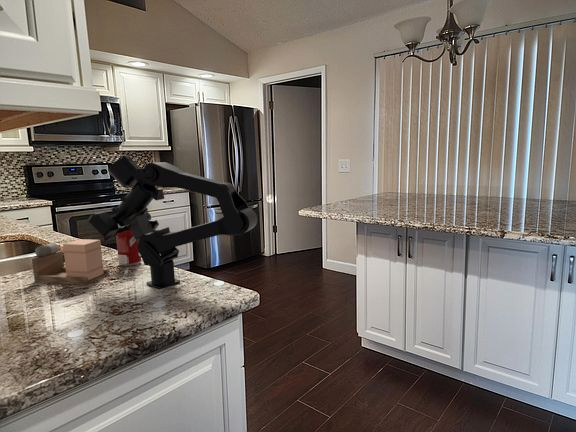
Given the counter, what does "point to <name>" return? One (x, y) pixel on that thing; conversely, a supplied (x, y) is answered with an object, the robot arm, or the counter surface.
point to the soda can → (127, 249)
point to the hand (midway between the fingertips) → (105, 240)
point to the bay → (56, 267)
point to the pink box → (83, 258)
